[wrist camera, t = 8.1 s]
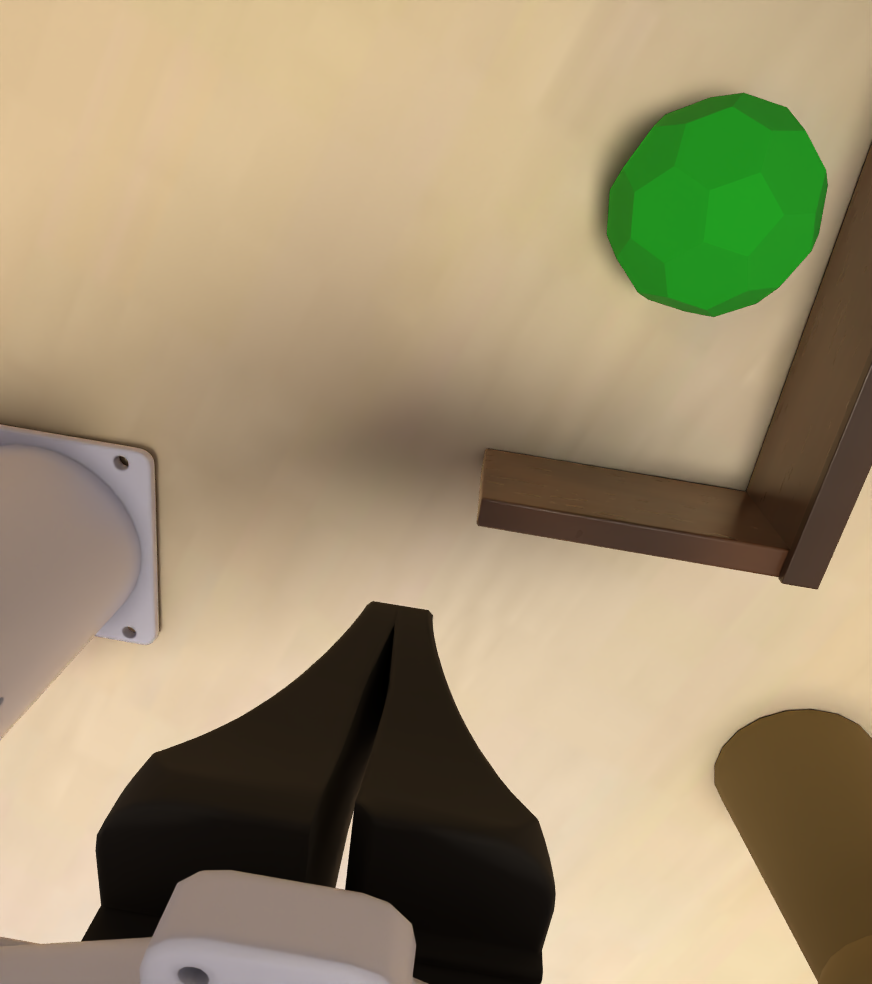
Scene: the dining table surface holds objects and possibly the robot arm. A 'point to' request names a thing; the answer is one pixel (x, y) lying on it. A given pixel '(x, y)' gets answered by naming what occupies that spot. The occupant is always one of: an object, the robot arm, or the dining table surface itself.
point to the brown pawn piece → (809, 830)
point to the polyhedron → (717, 205)
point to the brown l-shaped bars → (779, 469)
